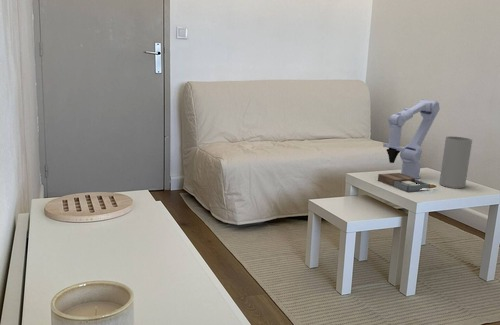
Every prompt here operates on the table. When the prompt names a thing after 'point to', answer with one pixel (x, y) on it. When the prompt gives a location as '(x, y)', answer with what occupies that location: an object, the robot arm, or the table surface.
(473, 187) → the table surface
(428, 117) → the robot arm
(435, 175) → the table surface
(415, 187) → the box
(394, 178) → the bench plate
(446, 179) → the cylinder vase
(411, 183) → the tile cream
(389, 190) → the table surface
